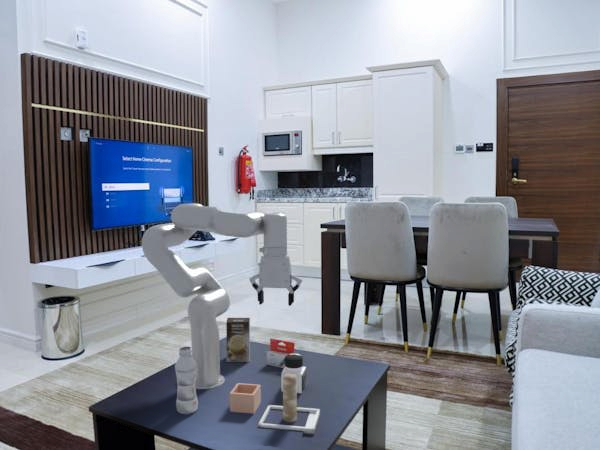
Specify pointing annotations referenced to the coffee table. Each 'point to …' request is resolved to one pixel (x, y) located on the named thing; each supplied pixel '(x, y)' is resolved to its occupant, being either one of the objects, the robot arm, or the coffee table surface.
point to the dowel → (289, 397)
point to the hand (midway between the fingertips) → (275, 304)
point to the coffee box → (238, 339)
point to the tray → (308, 428)
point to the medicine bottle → (295, 370)
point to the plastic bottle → (186, 382)
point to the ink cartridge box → (279, 352)
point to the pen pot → (245, 398)
